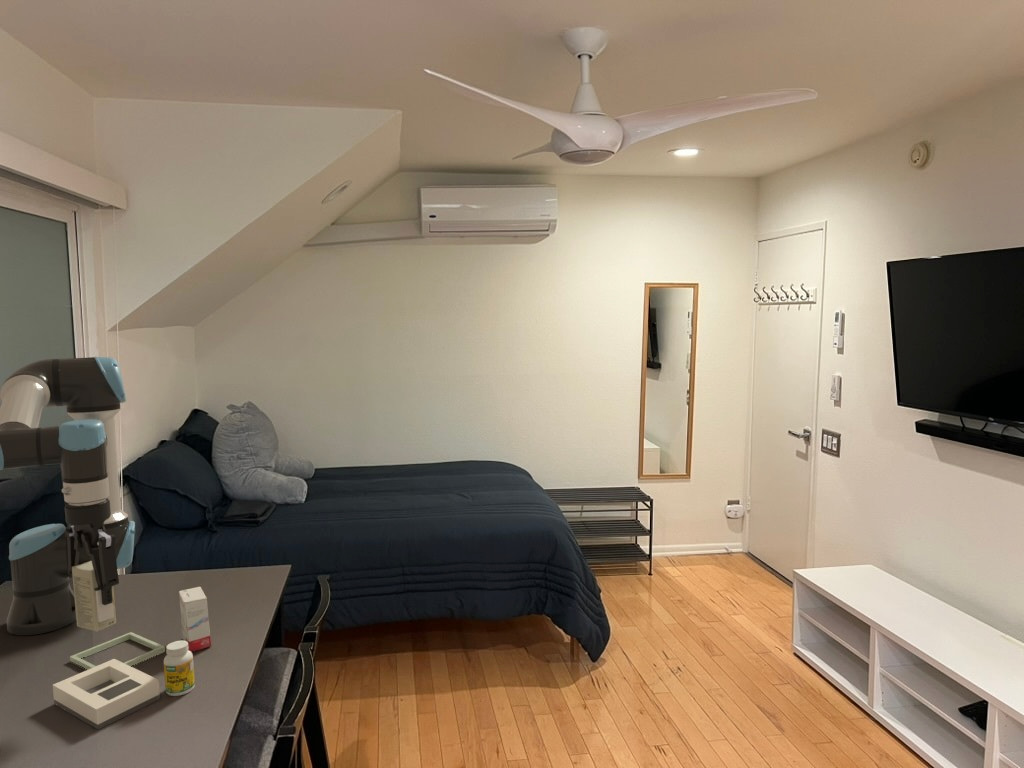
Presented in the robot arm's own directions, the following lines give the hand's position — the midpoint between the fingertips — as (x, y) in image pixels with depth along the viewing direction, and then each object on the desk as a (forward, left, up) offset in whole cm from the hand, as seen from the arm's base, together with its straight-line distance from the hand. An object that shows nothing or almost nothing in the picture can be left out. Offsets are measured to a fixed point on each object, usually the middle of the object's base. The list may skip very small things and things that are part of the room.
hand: (96, 615), depth 139 cm
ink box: (-5, +24, -17) cm, 30 cm away
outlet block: (+2, 0, -17) cm, 17 cm away
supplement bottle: (+10, +10, -17) cm, 23 cm away
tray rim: (-14, +11, -17) cm, 25 cm away
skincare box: (0, 0, -2) cm, 2 cm away
